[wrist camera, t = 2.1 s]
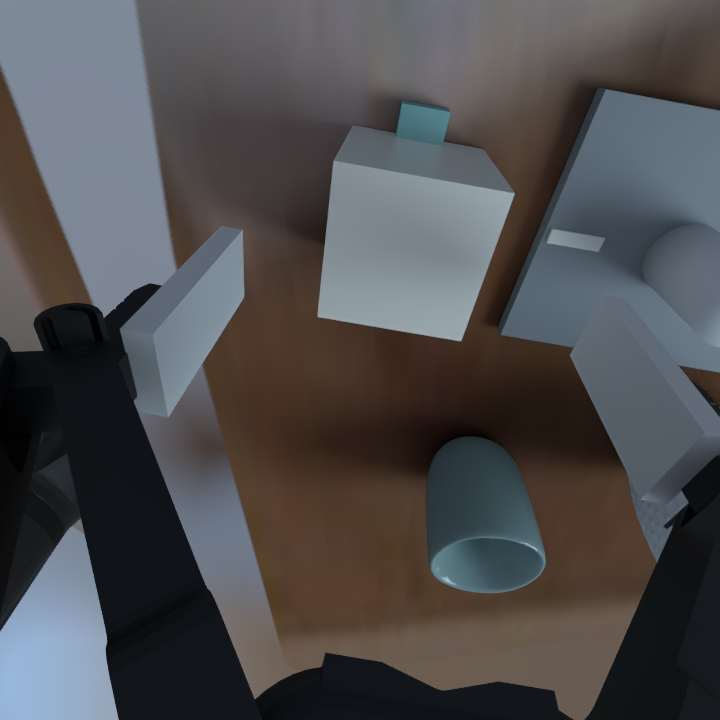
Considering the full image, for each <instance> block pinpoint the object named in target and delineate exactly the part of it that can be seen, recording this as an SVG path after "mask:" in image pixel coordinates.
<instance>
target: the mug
mask: <svg viewBox="0 0 720 720" xmlns="http://www.w3.org/2000/svg"><path fill="white" fill-rule="evenodd" d="M719 408H720V407H719ZM628 478H629V476H628ZM629 485H630V486H629V488H630V490H631V494H632V500H633V504H634V506H635V509H636V516H637V517H638V520H639V522H640V524H641V528H642V530H643V534H644V536H645V537H646V539H647V541H648V545H649V548H650V549H651V552H652V554H653V555H654V557H655V559H656V563H657V562H658V559H659V557H660V555H661V553H662V550H663V548H664V546H665V543H666V541H667V539H668V537H669V534H670V532H671V530H672V527H673V526H671V527H669V528H668V529H666V528H665V527H663V526H664V525H665V524H666V523H667V522H668V521H669V520H670V519H671V518H673V517H674V516H675V515H676V514H677V513H678V512H679V511H680V510H681V509H682V508H684V507H685V506H686V505H687V504H688V503H689V502H688V501H687V499H686V497H685V496H684V494H683V492H682V491H681V492H680V493H679V494H678V495H677V496H675V497H674V498H673V499H672V500H671V501H670V502H669V503H668V504H663V503H657V502H651V501H645V500H640V498H639V496H638V494H637V492H636V490H635V488H634V486H633V484H632V482H631V480H630V478H629Z"/></svg>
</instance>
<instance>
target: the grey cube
mask: <svg viewBox="0 0 720 720" xmlns="http://www.w3.org/2000/svg"><path fill="white" fill-rule="evenodd" d="M450 113H451V112H450V110H449V109H447V108H441V107H436V106H431V105H425V104H420V103H414V102H409V101H404V100H402V103H401V109H400V114H399V120H398V125H397V131H396V133H394V132H388V131H383V130H377V129H372V128H366V127H361V126H355V125H353V126H352V128H351V130H350V132H349V133H348V135H347V137H346V139H345V141H344V143H343V144H342V146H341V148H340V150H339V152H338V153H337V155H336V157H335V159H334V161H333V171H332V180H331V190H330V200H329V209H328V219H327V229H326V239H325V248H324V258H323V268H322V277H321V287H320V297H319V306H318V316H317V317H321V318H327V319H333V320H339V321H344V322H350V323H356V324H362V325H368V326H374V327H380V328H386V329H391V330H397V331H403V332H409V333H415V334H421V335H427V336H433V337H438V338H444V339H450V340H456V341H461V340H462V338H463V335H464V332H465V329H466V327H467V324H468V321H469V318H470V316H471V313H472V310H473V307H474V305H475V302H476V299H477V296H478V294H479V291H480V288H481V285H482V283H483V280H484V277H485V274H486V272H487V269H488V266H489V263H490V261H491V258H492V255H493V252H494V250H495V247H496V244H497V241H498V239H499V236H500V233H501V230H502V228H503V225H504V222H505V219H506V217H507V214H508V211H509V208H510V206H511V203H512V200H513V197H514V195H515V193H514V191H513V190H512V189H511V187H510V186H509V184H508V183H507V182H506V180H505V179H504V177H503V176H502V175H501V173H500V172H499V170H498V169H497V168H496V166H495V165H494V163H493V162H492V160H491V159H490V158H489V156H488V155H487V153H486V152H485V151H484V149H481V148H475V147H470V146H465V145H459V144H454V143H448V142H444V138H445V133H446V129H447V125H448V121H449V117H450Z"/></svg>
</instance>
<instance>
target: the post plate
mask: <svg viewBox="0 0 720 720" xmlns="http://www.w3.org/2000/svg"><path fill="white" fill-rule="evenodd" d="M604 295H605V296H610V297H616V298H621V299H625V300H626V301H627V302H628V304H629V305H630V306H631V307H632V309H633V310H634V311H635V312H636V314H637V315H638V316H639V317H640V319H641V320H642V321H643V322H644V324H645V325H646V326H647V327H648V328H649V330H650V331H651V332H652V333H653V335H654V336H655V337H656V338H657V340H658V341H659V342H660V343H661V345H662V346H663V347H664V348H665V350H666V351H667V352H668V353H669V355H670V356H671V357H672V358H673V360H674V361H675V362H676V363H677V365H679V366H685V367H691V368H697V369H702V370H708V371H714V372H720V110H716V109H711V108H705V107H700V106H695V105H689V104H684V103H679V102H673V101H668V100H663V99H658V98H652V97H647V96H642V95H636V94H631V93H626V92H621V91H615V90H610V89H605V88H599V87H598V88H597V91H596V93H595V96H594V98H593V100H592V103H591V105H590V108H589V110H588V112H587V115H586V117H585V120H584V122H583V124H582V127H581V129H580V131H579V134H578V136H577V139H576V141H575V143H574V146H573V148H572V151H571V153H570V155H569V158H568V160H567V163H566V165H565V167H564V170H563V172H562V174H561V177H560V179H559V182H558V184H557V186H556V189H555V191H554V194H553V196H552V198H551V201H550V203H549V206H548V208H547V210H546V213H545V215H544V218H543V220H542V222H541V225H540V227H539V229H538V232H537V234H536V237H535V239H534V241H533V244H532V246H531V249H530V251H529V253H528V256H527V258H526V261H525V263H524V265H523V268H522V270H521V272H520V275H519V277H518V280H517V282H516V284H515V287H514V289H513V292H512V294H511V296H510V299H509V301H508V304H507V306H506V308H505V311H504V313H503V316H502V318H501V320H500V323H499V325H498V329H499V332H500V335H504V336H509V337H515V338H521V339H527V340H533V341H539V342H545V343H550V344H556V345H562V346H568V347H575V345H576V343H577V342H578V340H579V338H580V336H581V335H582V333H583V331H584V330H585V328H586V326H587V324H588V323H589V321H590V319H591V317H592V316H593V314H594V312H595V310H596V309H597V307H598V305H599V304H600V302H601V300H602V298H603V297H604Z"/></svg>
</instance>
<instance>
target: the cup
mask: <svg viewBox="0 0 720 720" xmlns="http://www.w3.org/2000/svg"><path fill="white" fill-rule="evenodd" d="M426 527H427V546H428V560H429V566H430V570H431V572H432V574H433V575H434V576H435V577H436V578H437V579H438V580H439V581H441V582H443V583H444V584H447V585H449V586H451V587H454V588H458V589H461V590H466V591H471V592H479V593H499V592H506V591H511V590H514V589H517V588H520V587H523V586H525V585H527V584H529V583H530V582H532V581H533V580H535V579H536V578H537V577H538V576H539V575H540V574H541V573H542V571H543V569H544V567H545V563H546V557H545V552H544V547H543V543H542V539H541V535H540V531H539V527H538V524H537V520H536V517H535V513H534V509H533V506H532V503H531V499H530V496H529V493H528V490H527V487H526V484H525V482H524V479H523V476H522V474H521V472H520V470H519V468H518V466H517V464H516V462H515V461H514V459H513V458H512V456H511V455H510V454H509V452H508V451H506V450H505V449H504V448H503V447H502V446H501V445H499V444H497V443H496V442H494V441H491V440H489V439H486V438H482V437H477V436H463V437H458V438H455V439H452V440H451V441H449V442H447V443H446V444H445V445H443V446H442V447H441V448H440V449H439V450H438V451H437V453H436V454H435V456H434V458H433V459H432V462H431V464H430V468H429V472H428V476H427V484H426Z"/></svg>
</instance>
